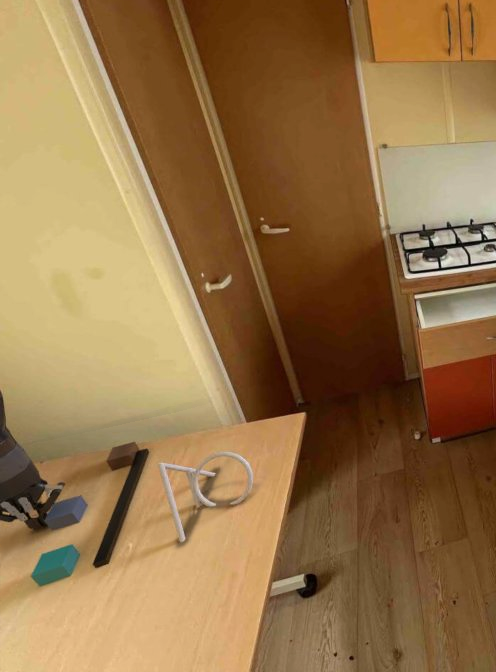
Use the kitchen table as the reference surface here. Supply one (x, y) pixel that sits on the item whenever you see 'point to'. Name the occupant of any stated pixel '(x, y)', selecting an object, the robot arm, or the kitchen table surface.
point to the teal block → (55, 565)
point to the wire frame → (195, 488)
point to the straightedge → (120, 510)
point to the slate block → (66, 513)
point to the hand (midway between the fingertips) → (41, 525)
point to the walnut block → (122, 456)
